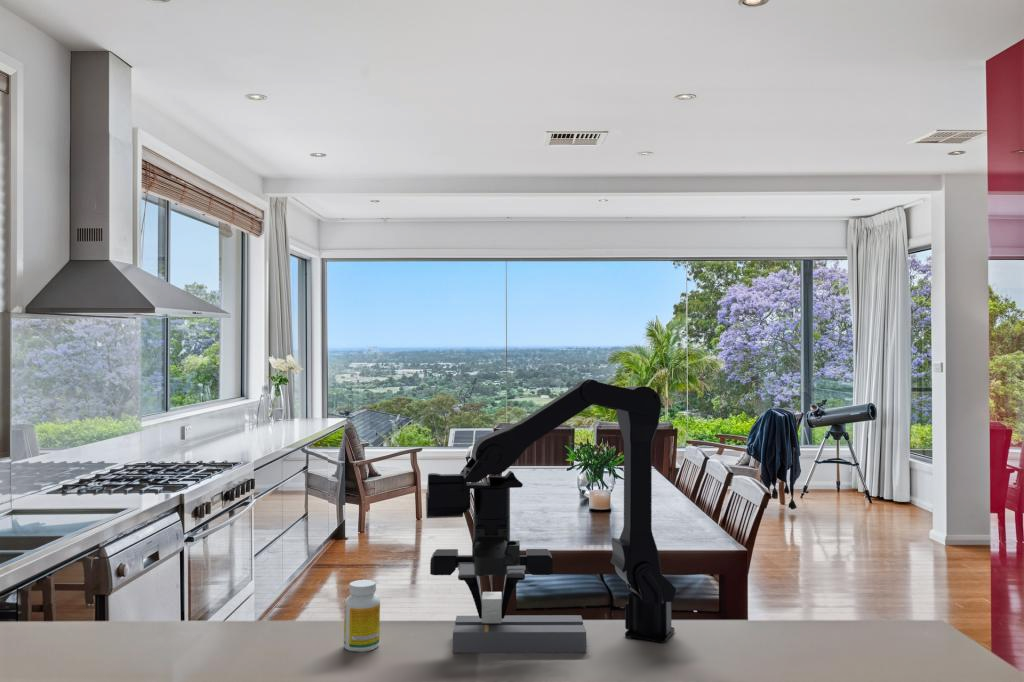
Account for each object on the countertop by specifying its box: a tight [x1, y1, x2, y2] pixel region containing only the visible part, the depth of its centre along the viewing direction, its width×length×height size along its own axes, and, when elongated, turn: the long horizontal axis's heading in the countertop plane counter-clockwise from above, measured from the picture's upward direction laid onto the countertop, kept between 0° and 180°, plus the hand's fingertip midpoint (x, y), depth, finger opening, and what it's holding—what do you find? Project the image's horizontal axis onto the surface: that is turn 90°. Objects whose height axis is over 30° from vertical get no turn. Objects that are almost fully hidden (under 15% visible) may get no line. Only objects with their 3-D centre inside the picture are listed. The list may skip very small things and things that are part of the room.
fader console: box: [452, 614, 587, 654], centre depth 116 cm, size 20×8×3 cm, turn 90°
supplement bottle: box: [343, 579, 381, 653], centre depth 114 cm, size 5×5×10 cm
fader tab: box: [481, 591, 503, 625], centre depth 116 cm, size 3×4×6 cm
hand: (491, 617), depth 116 cm, fingers closed on fader tab, 3 cm apart
